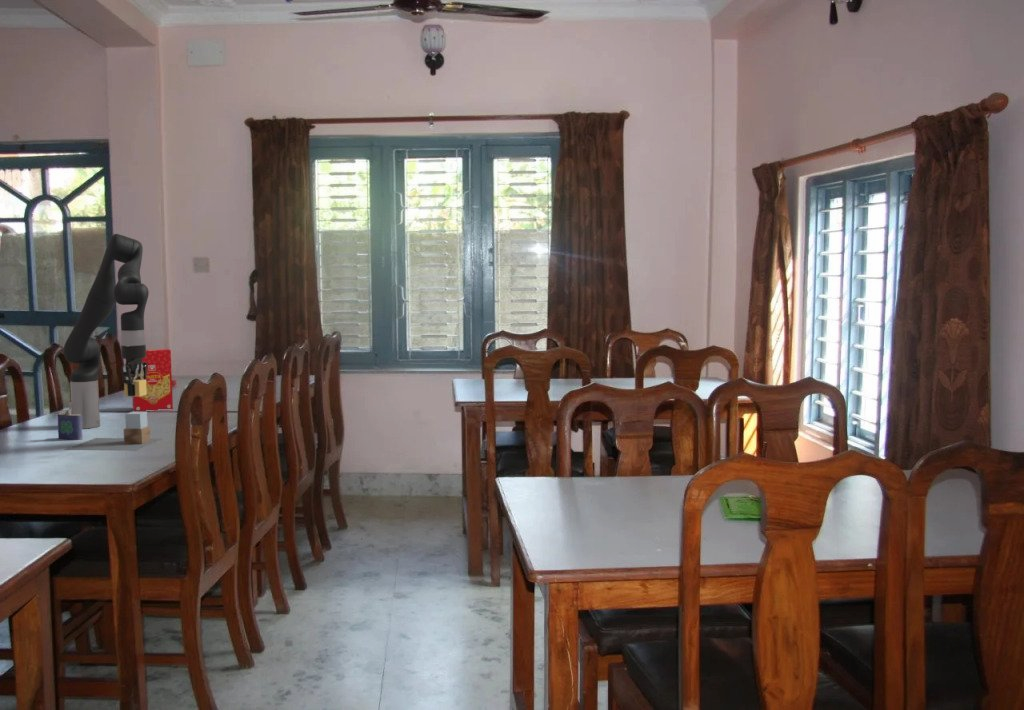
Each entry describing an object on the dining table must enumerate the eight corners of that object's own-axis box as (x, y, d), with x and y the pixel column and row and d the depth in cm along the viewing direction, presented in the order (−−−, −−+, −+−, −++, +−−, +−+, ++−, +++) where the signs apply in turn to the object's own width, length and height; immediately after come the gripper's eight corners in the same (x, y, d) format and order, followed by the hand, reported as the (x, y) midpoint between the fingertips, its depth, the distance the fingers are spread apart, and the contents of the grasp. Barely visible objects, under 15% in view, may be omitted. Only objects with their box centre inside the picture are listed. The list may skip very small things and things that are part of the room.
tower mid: (125, 428, 289) (125, 413, 288) (133, 426, 294) (132, 411, 293) (140, 428, 289) (140, 414, 288) (147, 426, 294) (147, 411, 293)
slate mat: (63, 450, 280) (63, 449, 280) (96, 439, 300) (95, 437, 300) (136, 451, 279) (136, 450, 279) (164, 439, 298) (164, 438, 298)
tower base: (124, 444, 289) (123, 429, 288) (133, 440, 295) (132, 425, 294) (142, 444, 289) (141, 429, 288) (150, 440, 295) (149, 426, 294)
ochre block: (124, 396, 288) (124, 381, 288) (132, 394, 293) (131, 379, 293) (139, 396, 288) (138, 381, 287) (146, 394, 293) (145, 379, 292)
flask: (84, 440, 298) (82, 409, 297) (77, 441, 295) (76, 410, 294) (62, 438, 301) (60, 408, 300) (55, 440, 298) (53, 409, 297)
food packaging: (134, 412, 356) (132, 351, 353) (133, 411, 360) (130, 350, 358) (173, 409, 363) (170, 350, 361) (170, 408, 368) (168, 349, 365)
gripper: (132, 342, 296) (134, 391, 298) (111, 345, 282) (113, 397, 283) (154, 342, 296) (156, 391, 297) (134, 345, 281) (136, 397, 283)
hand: (135, 394), depth 290 cm, fingers closed on ochre block, 5 cm apart
